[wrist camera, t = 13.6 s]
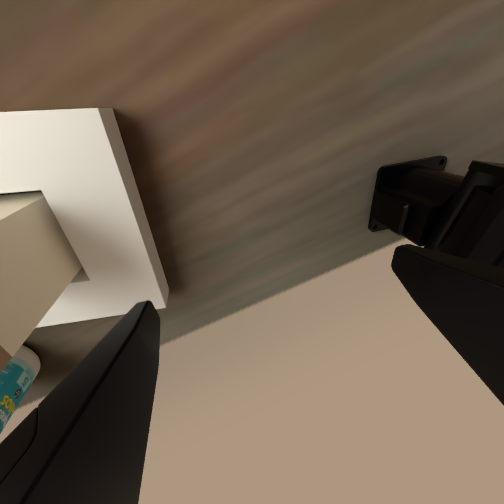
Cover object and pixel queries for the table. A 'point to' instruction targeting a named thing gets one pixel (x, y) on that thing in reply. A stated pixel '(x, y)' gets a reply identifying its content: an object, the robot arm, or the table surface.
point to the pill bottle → (16, 381)
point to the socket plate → (86, 207)
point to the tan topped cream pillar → (30, 267)
